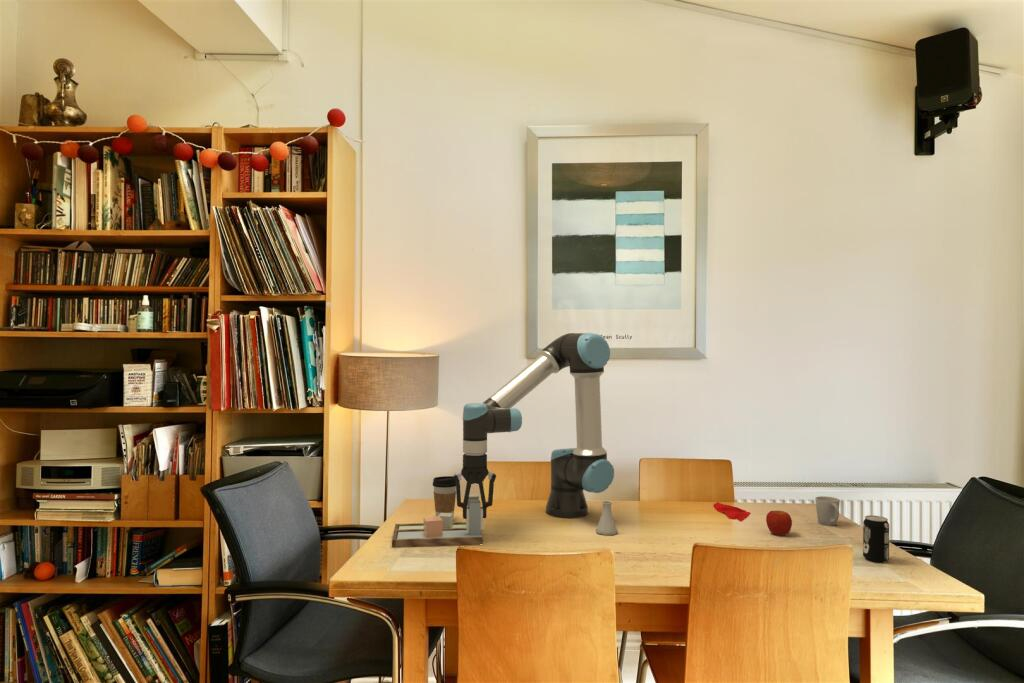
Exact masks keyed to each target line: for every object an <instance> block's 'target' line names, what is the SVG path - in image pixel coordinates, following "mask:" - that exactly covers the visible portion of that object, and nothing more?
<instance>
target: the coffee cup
mask: <svg viewBox="0 0 1024 683" xmlns="http://www.w3.org/2000/svg"><path fill="white" fill-rule="evenodd" d="M432 487H433V498H434V499H433V500H434V511H435V516H438V515H439V514H440V513H453V519H454V516H455V515H454V514H455V508H456V507H455V506H456V499H457V495H456V482H455V480H454V475H449V476H447V475H445V476H436V477H433V479H432Z"/></svg>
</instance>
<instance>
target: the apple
mask: <svg viewBox="0 0 1024 683" xmlns="http://www.w3.org/2000/svg"><path fill="white" fill-rule="evenodd" d="M765 521H766V526H767V529H768V530H769V532H771V533H772V535H775V536H785V535H788V534H789V533H790V531H791V530H792V526H793V520H792V517H791V515H790V514H789V513H788V512H786V511H783V510H770V511H769V512H767V513H766V517H765Z"/></svg>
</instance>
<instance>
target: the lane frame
mask: <svg viewBox="0 0 1024 683" xmlns="http://www.w3.org/2000/svg"><path fill="white" fill-rule="evenodd" d="M464 524H466V521H464V522H463V521H460V522H457V521H455V522H454V521H453V525H464ZM399 526H424V522H422V523H421V522H420V523H419V522H418V523H415V522H414V523H395V525H394V530H393V534H392V537H391V538H392V539H391V547H392V548H395V549H396V548H421V547H422V548H423V547H425V548H427V547H454V546H455V547H459V546H460V547H461V546H463V547H464V546H481V545H480V544H483V545H484V536H482V537H450V538H414V539H397V536H398V532H417V531H424V529H400V530H399ZM454 530H467V529H466V528H443V531H454Z"/></svg>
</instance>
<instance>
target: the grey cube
mask: <svg viewBox="0 0 1024 683" xmlns="http://www.w3.org/2000/svg"><path fill="white" fill-rule="evenodd" d="M438 516H440V517H441V519H442V520H443V528H452V526H453V522H454V518H453V513H440V514H439V515H438Z"/></svg>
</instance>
